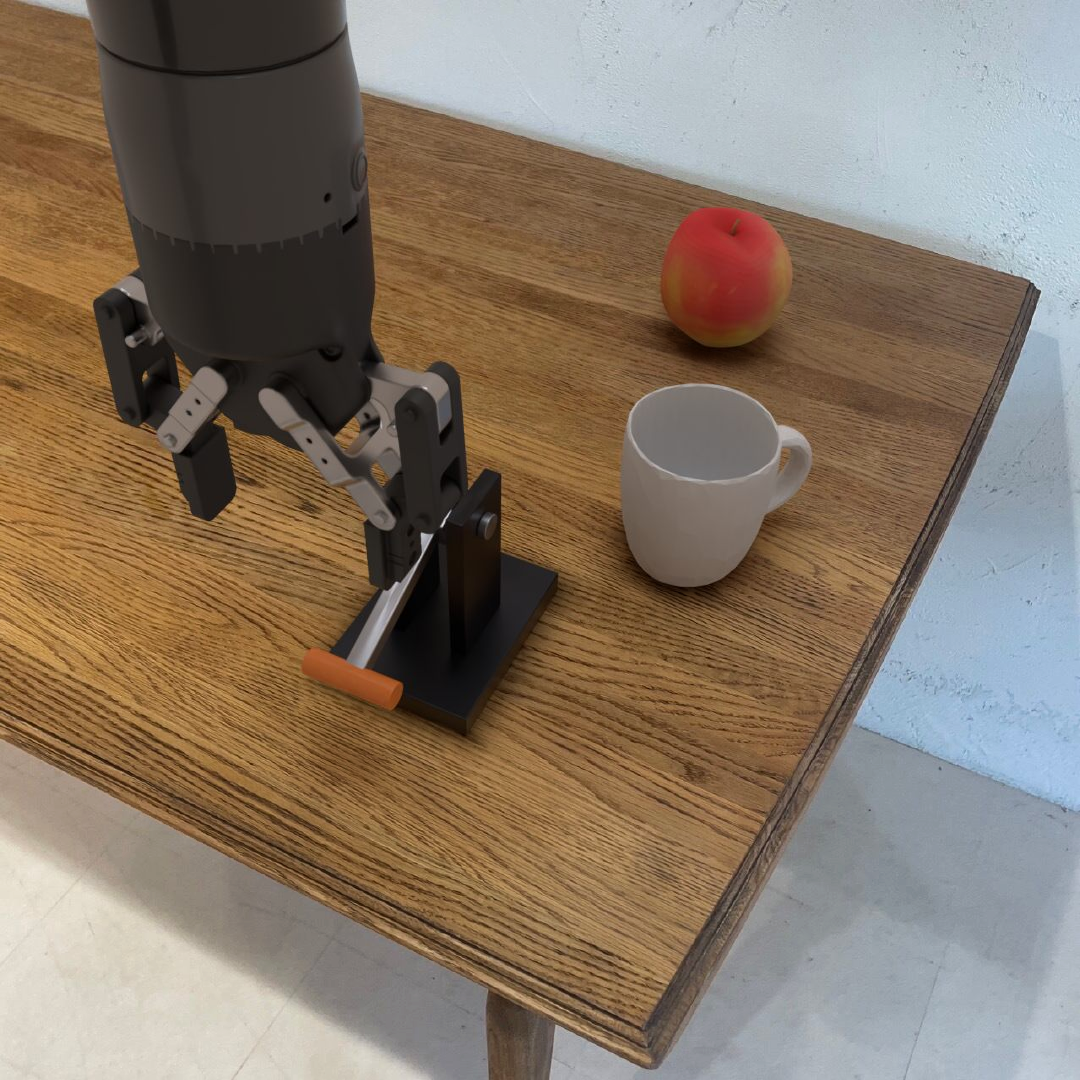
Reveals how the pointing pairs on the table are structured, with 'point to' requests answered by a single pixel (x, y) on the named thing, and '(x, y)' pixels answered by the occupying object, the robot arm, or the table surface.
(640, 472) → the mug
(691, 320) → the apple
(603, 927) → the table surface
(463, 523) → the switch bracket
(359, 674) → the switch
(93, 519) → the table surface
